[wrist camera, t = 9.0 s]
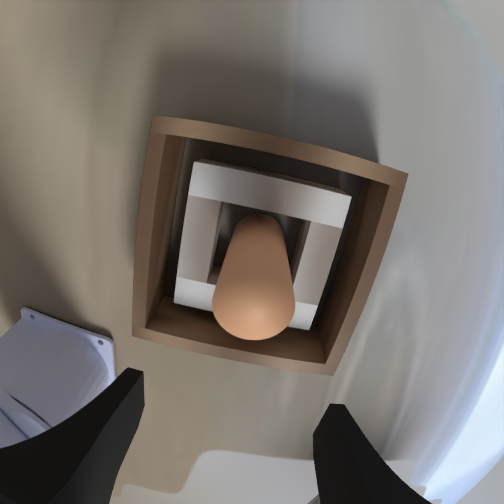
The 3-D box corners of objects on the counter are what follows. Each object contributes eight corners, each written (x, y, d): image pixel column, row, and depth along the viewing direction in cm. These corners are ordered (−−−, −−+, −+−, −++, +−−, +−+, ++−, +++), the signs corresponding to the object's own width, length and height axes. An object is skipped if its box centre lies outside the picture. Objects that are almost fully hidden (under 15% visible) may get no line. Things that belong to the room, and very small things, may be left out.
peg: (228, 255, 19) (206, 331, 12) (238, 208, 18) (219, 260, 11) (276, 266, 19) (283, 346, 12) (288, 219, 18) (305, 277, 11)
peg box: (152, 302, 21) (132, 336, 17) (176, 119, 16) (152, 114, 13) (323, 337, 21) (333, 375, 17) (379, 165, 17) (408, 173, 13)
